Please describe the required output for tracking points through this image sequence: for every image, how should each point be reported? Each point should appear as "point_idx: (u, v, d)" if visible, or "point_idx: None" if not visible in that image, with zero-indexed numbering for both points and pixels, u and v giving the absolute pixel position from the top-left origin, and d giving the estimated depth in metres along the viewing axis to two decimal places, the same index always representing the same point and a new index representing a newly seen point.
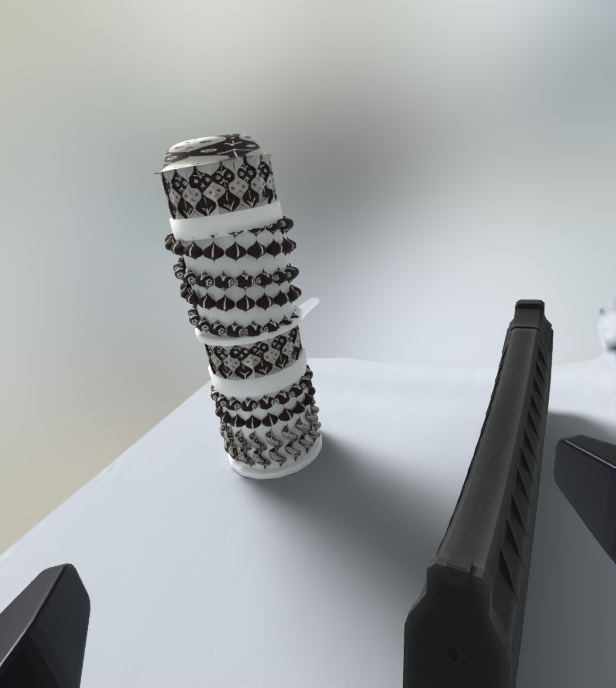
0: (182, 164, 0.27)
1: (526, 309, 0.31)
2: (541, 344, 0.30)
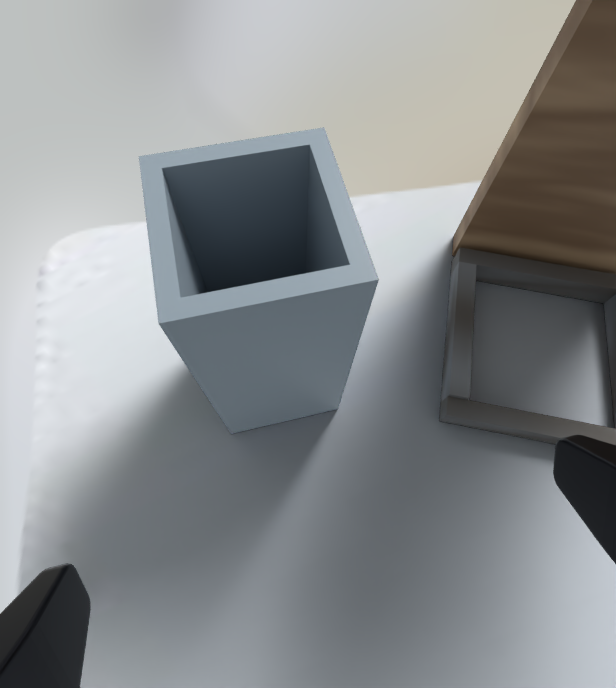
0: None
1: None
2: None
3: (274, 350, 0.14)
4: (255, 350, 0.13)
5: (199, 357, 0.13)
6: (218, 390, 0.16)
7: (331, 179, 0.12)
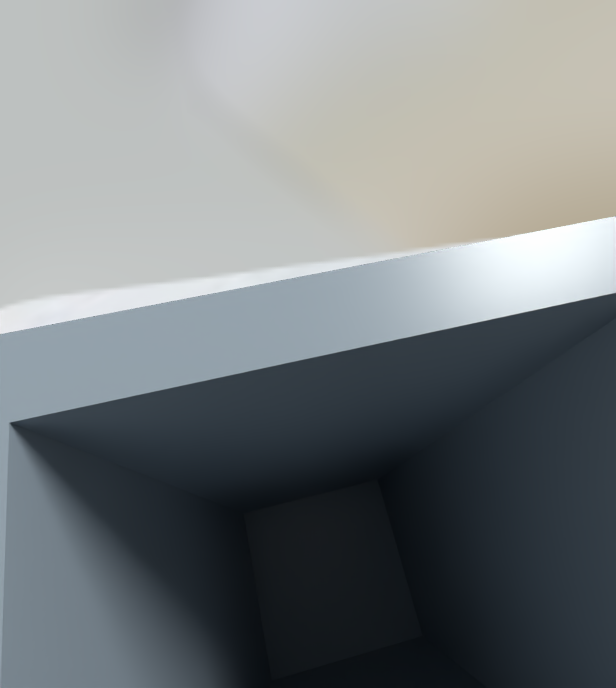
0: None
1: None
2: None
3: None
4: None
5: None
6: None
7: None
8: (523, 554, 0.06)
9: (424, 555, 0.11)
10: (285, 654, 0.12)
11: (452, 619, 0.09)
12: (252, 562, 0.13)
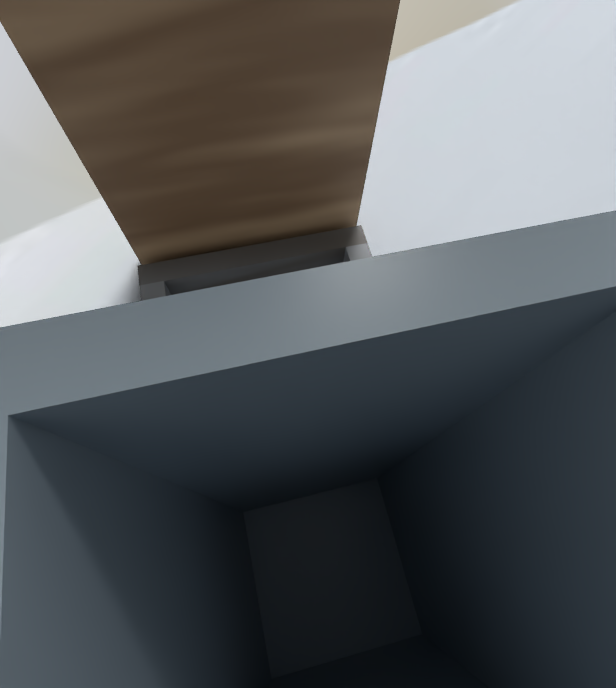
0: None
1: None
2: None
3: None
4: None
5: None
6: None
7: None
8: (522, 551, 0.06)
9: (424, 553, 0.11)
10: (285, 652, 0.12)
11: (451, 617, 0.09)
12: (252, 560, 0.13)
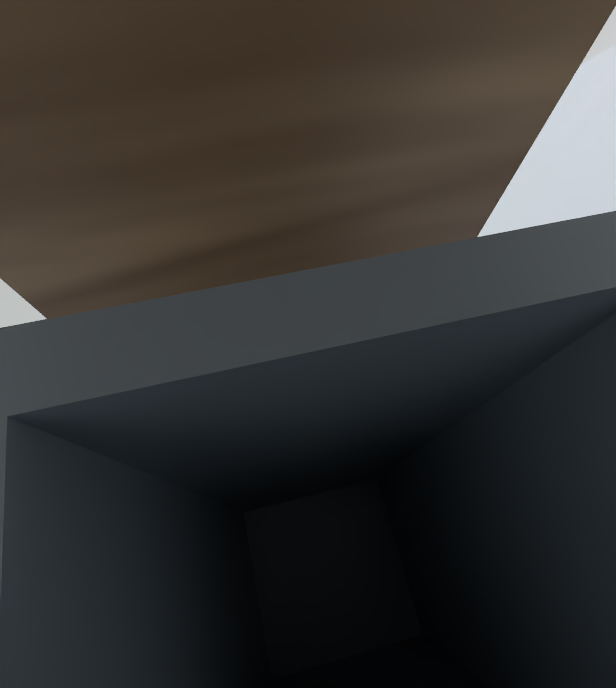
0: None
1: None
2: None
3: None
4: None
5: None
6: None
7: None
8: (523, 551, 0.06)
9: (424, 554, 0.11)
10: (285, 653, 0.12)
11: (452, 617, 0.09)
12: (252, 561, 0.13)
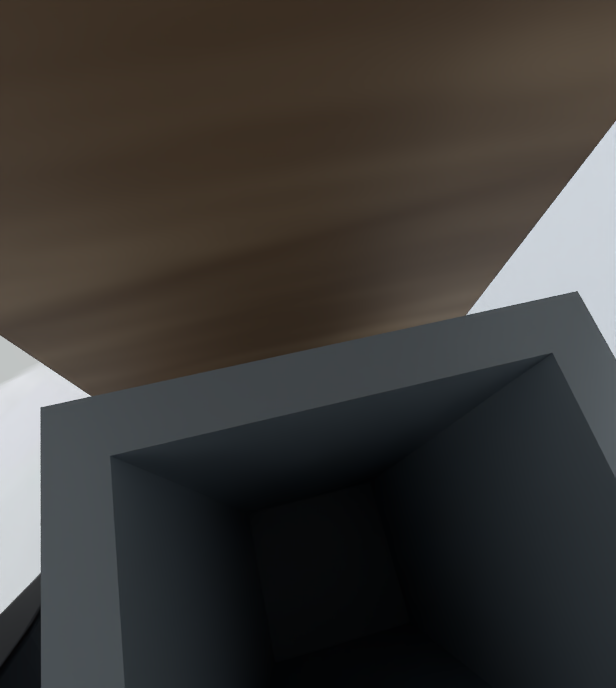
0: None
1: None
2: None
3: None
4: None
5: None
6: None
7: None
8: (480, 545, 0.07)
9: (409, 549, 0.12)
10: (287, 639, 0.14)
11: (432, 604, 0.11)
12: (256, 557, 0.14)
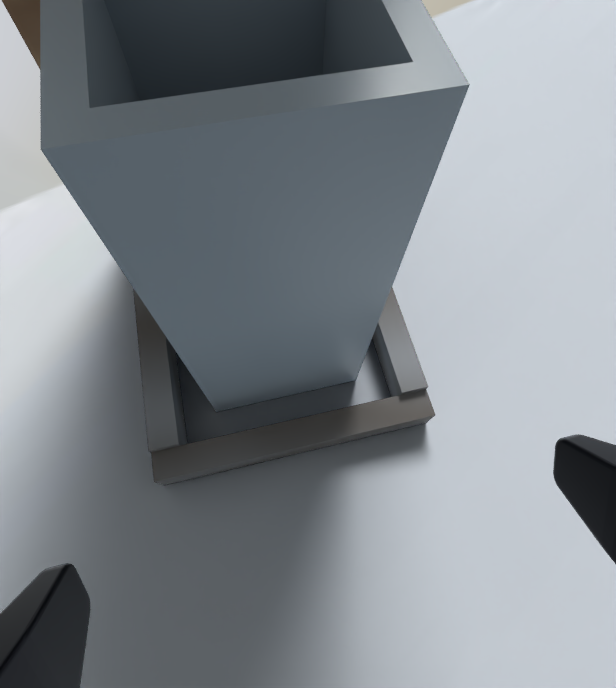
0: None
1: None
2: None
3: (272, 256, 0.08)
4: (241, 253, 0.08)
5: (145, 258, 0.08)
6: (189, 334, 0.11)
7: None
8: None
9: None
10: None
11: None
12: None
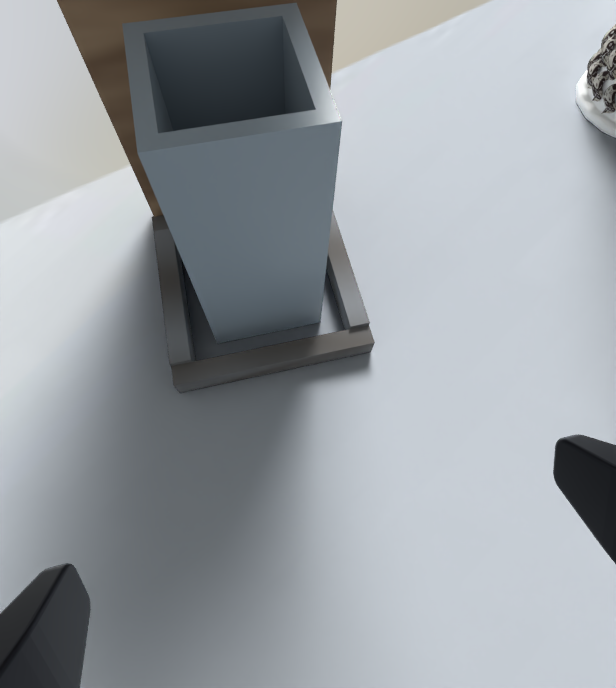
0: None
1: None
2: None
3: (250, 214, 0.15)
4: (232, 211, 0.14)
5: (179, 212, 0.14)
6: (200, 269, 0.17)
7: (301, 43, 0.13)
8: None
9: None
10: None
11: None
12: None
